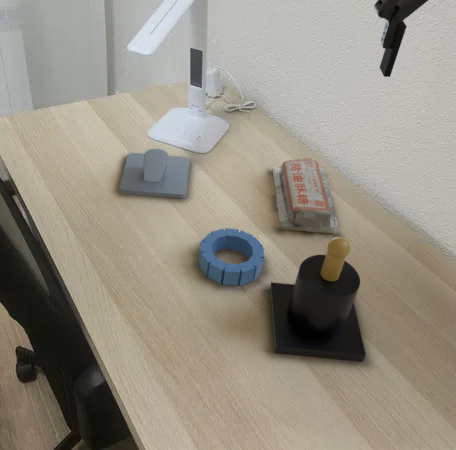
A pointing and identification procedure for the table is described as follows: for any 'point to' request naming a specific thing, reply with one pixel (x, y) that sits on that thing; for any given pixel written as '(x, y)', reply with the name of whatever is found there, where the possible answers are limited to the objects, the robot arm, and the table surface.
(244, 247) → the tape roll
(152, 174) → the shower valve
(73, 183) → the table surface
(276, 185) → the packaged product
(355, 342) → the tape holder
